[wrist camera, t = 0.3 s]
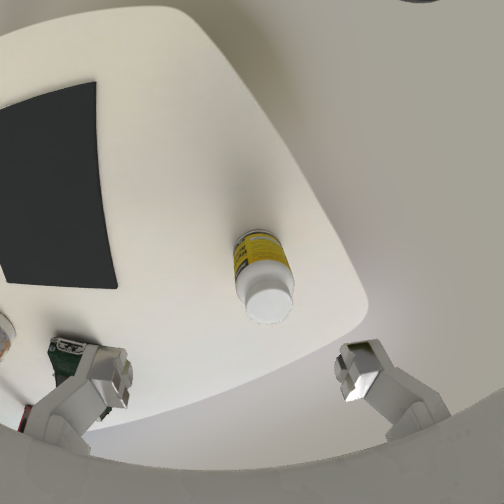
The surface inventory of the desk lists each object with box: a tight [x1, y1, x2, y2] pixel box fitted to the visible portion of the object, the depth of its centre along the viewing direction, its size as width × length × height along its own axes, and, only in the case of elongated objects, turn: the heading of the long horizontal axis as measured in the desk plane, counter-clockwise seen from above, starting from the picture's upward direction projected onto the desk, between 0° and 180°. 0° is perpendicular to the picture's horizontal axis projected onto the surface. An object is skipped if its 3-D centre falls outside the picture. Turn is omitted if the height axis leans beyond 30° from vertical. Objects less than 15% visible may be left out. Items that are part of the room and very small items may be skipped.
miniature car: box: [47, 337, 112, 422], centre depth 36 cm, size 9×18×8 cm, turn 169°
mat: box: [0, 82, 118, 289], centre depth 25 cm, size 24×20×1 cm
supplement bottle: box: [234, 230, 294, 325], centre depth 27 cm, size 5×5×10 cm
